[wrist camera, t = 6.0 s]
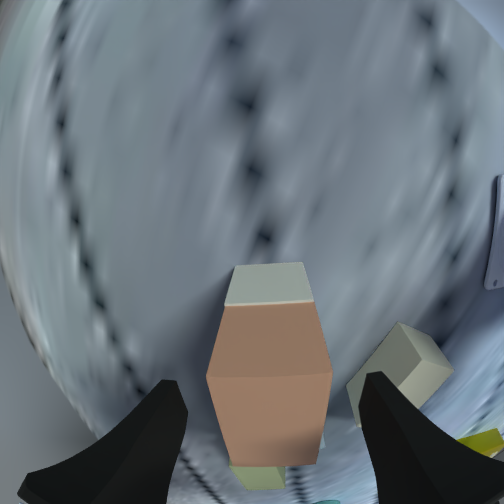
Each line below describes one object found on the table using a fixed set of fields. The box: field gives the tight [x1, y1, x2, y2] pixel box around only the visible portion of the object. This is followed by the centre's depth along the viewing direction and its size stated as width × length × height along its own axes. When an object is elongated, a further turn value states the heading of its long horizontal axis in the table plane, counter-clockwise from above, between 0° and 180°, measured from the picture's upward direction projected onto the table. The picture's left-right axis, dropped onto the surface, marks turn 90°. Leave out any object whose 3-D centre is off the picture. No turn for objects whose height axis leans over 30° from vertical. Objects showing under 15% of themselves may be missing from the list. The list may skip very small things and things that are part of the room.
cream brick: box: [346, 322, 454, 427], centre depth 15 cm, size 6×4×4 cm, turn 155°
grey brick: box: [224, 262, 314, 306], centre depth 14 cm, size 6×4×4 cm, turn 4°
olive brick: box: [229, 459, 285, 490], centre depth 18 cm, size 6×4×4 cm, turn 12°
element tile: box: [457, 428, 504, 458], centre depth 22 cm, size 15×15×5 cm
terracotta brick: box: [206, 302, 333, 467], centre depth 10 cm, size 6×4×4 cm, turn 4°
